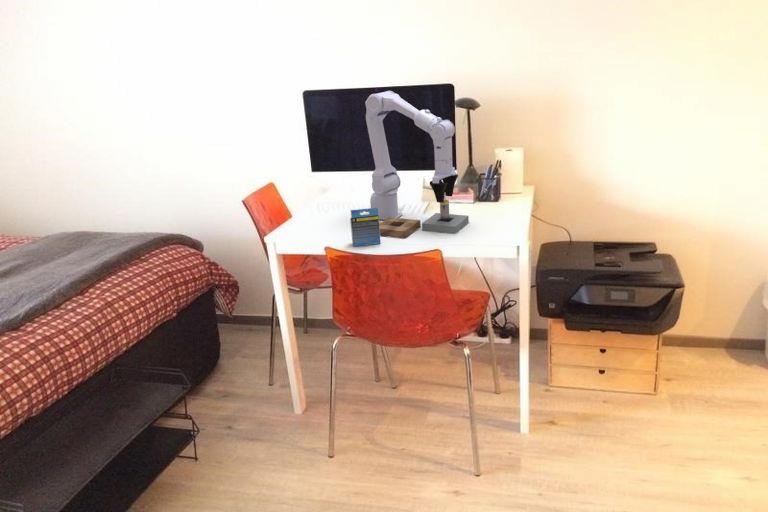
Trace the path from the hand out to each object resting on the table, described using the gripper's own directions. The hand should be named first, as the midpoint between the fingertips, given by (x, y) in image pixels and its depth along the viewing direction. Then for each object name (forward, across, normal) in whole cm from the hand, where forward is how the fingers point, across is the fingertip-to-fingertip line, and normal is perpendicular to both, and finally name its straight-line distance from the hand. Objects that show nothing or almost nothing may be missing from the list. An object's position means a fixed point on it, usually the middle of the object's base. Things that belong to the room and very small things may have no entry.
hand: (444, 199), depth 203 cm
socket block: (+10, -9, +14) cm, 19 cm away
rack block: (+10, 0, 0) cm, 10 cm away
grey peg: (+10, 0, 0) cm, 10 cm away
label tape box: (+10, -23, +18) cm, 31 cm away
